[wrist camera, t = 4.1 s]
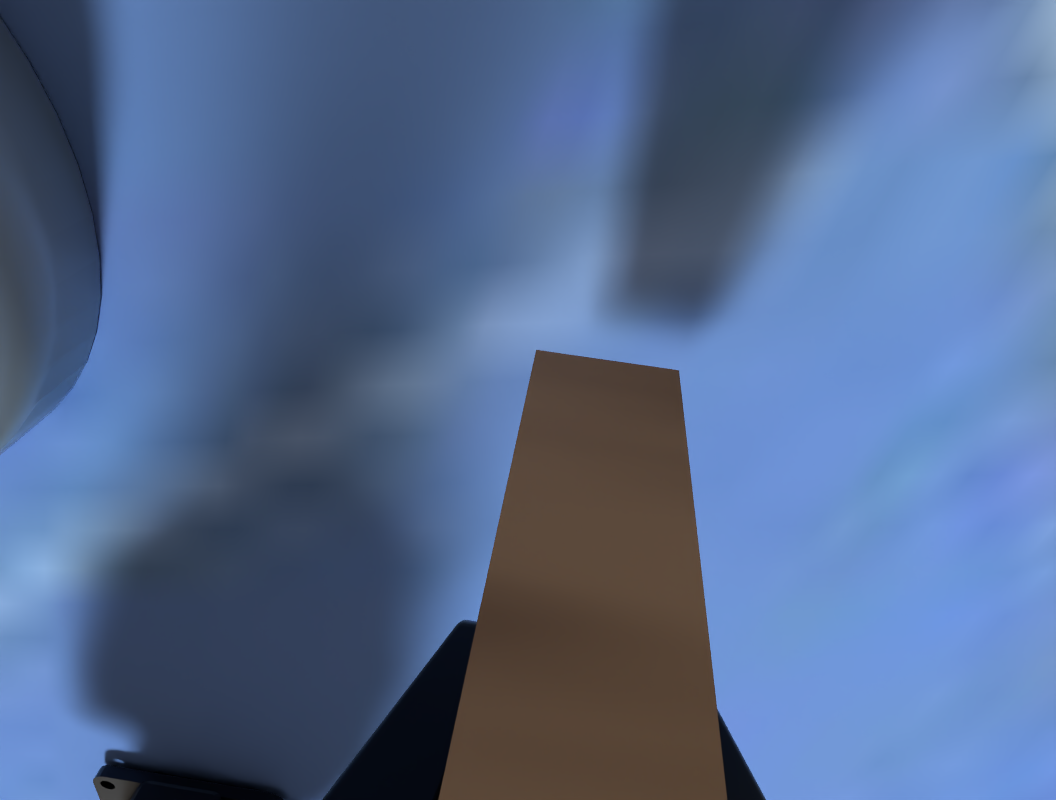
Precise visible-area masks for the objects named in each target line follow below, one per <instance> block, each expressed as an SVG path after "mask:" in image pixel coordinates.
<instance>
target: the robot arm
mask: <svg viewBox="0 0 1056 800" xmlns="http://www.w3.org/2000/svg"><path fill="white" fill-rule="evenodd" d="M476 625H477V622H476V621H469V620H463V621H461V622H459V623H458V624H457V625H456V626H455V628H454V629H453V630H452V632H451V633H450V634H449V636H448V637H447V638H446V639H445V641H444V642H443V643H442V645H441V646H440V647H439V649H438V650H437V651H436V652H435V654H434V655H433V656H432V658H431V659H430V660H429V662H428V663H427V664H426V665H425V667H424V668H423V669H422V671H421V672H420V673H419V675H418V676H417V677H416V678H415V680H414V681H413V682H412V684H411V685H410V686H409V688H408V689H407V690H406V691H405V693H404V694H403V695H402V697H401V698H400V699H399V701H398V702H397V703H396V704H395V706H394V707H393V708H392V710H391V711H390V712H389V714H388V715H387V716H386V717H385V719H384V720H383V721H382V723H381V724H380V725H379V727H378V728H377V729H376V730H375V732H374V733H373V734H372V736H371V737H370V738H369V740H368V741H367V742H366V743H365V745H364V746H363V747H362V749H361V750H360V751H359V753H358V754H357V755H356V756H355V758H354V759H353V760H352V762H351V763H350V764H349V766H348V767H347V768H346V769H345V771H344V772H343V773H342V775H341V776H340V777H339V779H338V780H337V781H336V782H335V784H334V785H333V786H332V788H331V789H330V790H329V792H328V793H327V794H326V795H325V797H324V798H323V799H322V800H439V795H440V790H441V786H442V781H443V777H444V772H445V767H446V763H447V758H448V754H449V749H450V744H451V740H452V735H453V731H454V726H455V721H456V717H457V712H458V708H459V703H460V698H461V694H462V689H463V685H464V680H465V675H466V671H467V666H468V662H469V657H470V652H471V648H472V643H473V639H474V634H475V629H476ZM717 713H718V722H719V731H720V740H721V749H722V758H723V767H724V776H725V784H726V793H727V800H766V799H765V797H764V795H763V793H762V792H761V790H760V788H759V786H758V784H757V782H756V780H755V779H754V777H753V775H752V773H751V771H750V769H749V767H748V765H747V764H746V762H745V760H744V758H743V756H742V754H741V752H740V751H739V749H738V747H737V745H736V743H735V741H734V739H733V738H732V736H731V734H730V732H729V730H728V728H727V726H726V725H725V723H724V721H723V719H722V717H721V715H720V713H719V711H718V710H717ZM93 783H94V785H95V788H96V790H97V793H98V795H99V798H100V800H283V799H282V798H281V797H280V796H278V795H276V794H273V793H269V792H263V791H258V790H252V789H246V788H240V787H234V786H228V785H222V784H217V783H211V782H205V781H199V780H193V779H187V778H181V777H175V776H170V775H164V774H158V773H152V772H146V771H140V770H134V769H129V768H123V767H117V766H110V765H105V766H102V767H101V768H100V770H99V771H98V773H97V775H96V776H95V778H94V779H93Z"/></svg>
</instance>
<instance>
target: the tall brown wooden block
mask: <svg viewBox="0 0 1056 800" xmlns="http://www.w3.org/2000/svg"><path fill="white" fill-rule="evenodd" d="M439 800H727V793H726V784H725V776H724V767H723V758H722V749H721V740H720V731H719V722H718V713H717V705H716V696H715V687H714V678H713V669H712V660H711V651H710V643H709V634H708V625H707V616H706V607H705V598H704V589H703V580H702V572H701V563H700V554H699V545H698V536H697V527H696V518H695V509H694V501H693V492H692V483H691V474H690V465H689V456H688V447H687V438H686V430H685V421H684V412H683V403H682V394H681V385H680V376H679V370H672V369H665V368H659V367H652V366H645V365H638V364H631V363H624V362H617V361H610V360H603V359H596V358H589V357H582V356H575V355H568V354H561V353H554V352H547V351H540V350H536V353H535V358H534V362H533V367H532V372H531V376H530V381H529V385H528V390H527V395H526V399H525V404H524V408H523V413H522V418H521V422H520V427H519V431H518V436H517V441H516V445H515V450H514V454H513V459H512V464H511V468H510V473H509V477H508V482H507V487H506V491H505V496H504V500H503V505H502V510H501V514H500V519H499V524H498V528H497V533H496V537H495V542H494V547H493V551H492V556H491V560H490V565H489V570H488V574H487V579H486V583H485V588H484V593H483V597H482V602H481V606H480V611H479V616H478V620H477V625H476V629H475V634H474V639H473V643H472V648H471V652H470V657H469V662H468V666H467V671H466V675H465V680H464V685H463V689H462V694H461V698H460V703H459V708H458V712H457V717H456V721H455V726H454V731H453V735H452V740H451V744H450V749H449V754H448V758H447V763H446V767H445V772H444V777H443V781H442V786H441V790H440V795H439Z"/></svg>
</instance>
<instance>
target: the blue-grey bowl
mask: <svg viewBox="0 0 1056 800" xmlns="http://www.w3.org/2000/svg"><path fill="white" fill-rule="evenodd" d="M100 299H101V289H100V257H99V251H98V245H97V239H96V233H95V227H94V221H93V215H92V211H91V208H90V204H89V201H88V197H87V194H86V190H85V187H84V184H83V180H82V177H81V173H80V170H79V166H78V164H77V162H76V159H75V157H74V154H73V152H72V149H71V147H70V144H69V142H68V140H67V137H66V135H65V132H64V130H63V127H62V125H61V123H60V120H59V118H58V115H57V113H56V111H55V110H54V108H53V106H52V104H51V102H50V100H49V98H48V96H47V94H46V93H45V91H44V89H43V87H42V85H41V83H40V81H39V79H38V77H37V76H36V74H35V72H34V70H33V68H32V66H31V64H30V62H29V61H28V59H27V58H26V56H25V54H24V53H23V51H22V50H21V48H20V47H19V45H18V44H17V42H16V41H15V39H14V38H13V36H12V34H11V33H10V31H9V30H8V28H7V27H6V25H5V24H4V22H3V21H2V19H1V17H0V455H1V454H2V453H3V452H5V451H6V450H7V449H8V448H9V447H10V446H12V445H13V444H14V443H15V442H16V441H18V440H19V439H20V438H21V437H22V436H24V435H25V434H26V433H27V432H28V431H29V430H31V429H32V428H33V427H34V426H35V425H37V424H38V423H39V422H40V421H41V420H43V419H44V418H45V417H46V416H47V415H48V414H50V413H51V412H52V411H53V410H54V409H55V408H56V407H57V406H58V405H59V404H60V402H61V401H62V400H63V399H64V398H65V396H66V395H67V394H68V393H69V392H70V391H71V389H72V388H73V386H74V385H75V383H76V381H77V379H78V377H79V375H80V374H81V372H82V370H83V368H84V366H85V364H86V363H87V360H88V356H89V353H90V350H91V347H92V344H93V341H94V337H95V334H96V330H97V322H98V314H99V307H100Z"/></svg>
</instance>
